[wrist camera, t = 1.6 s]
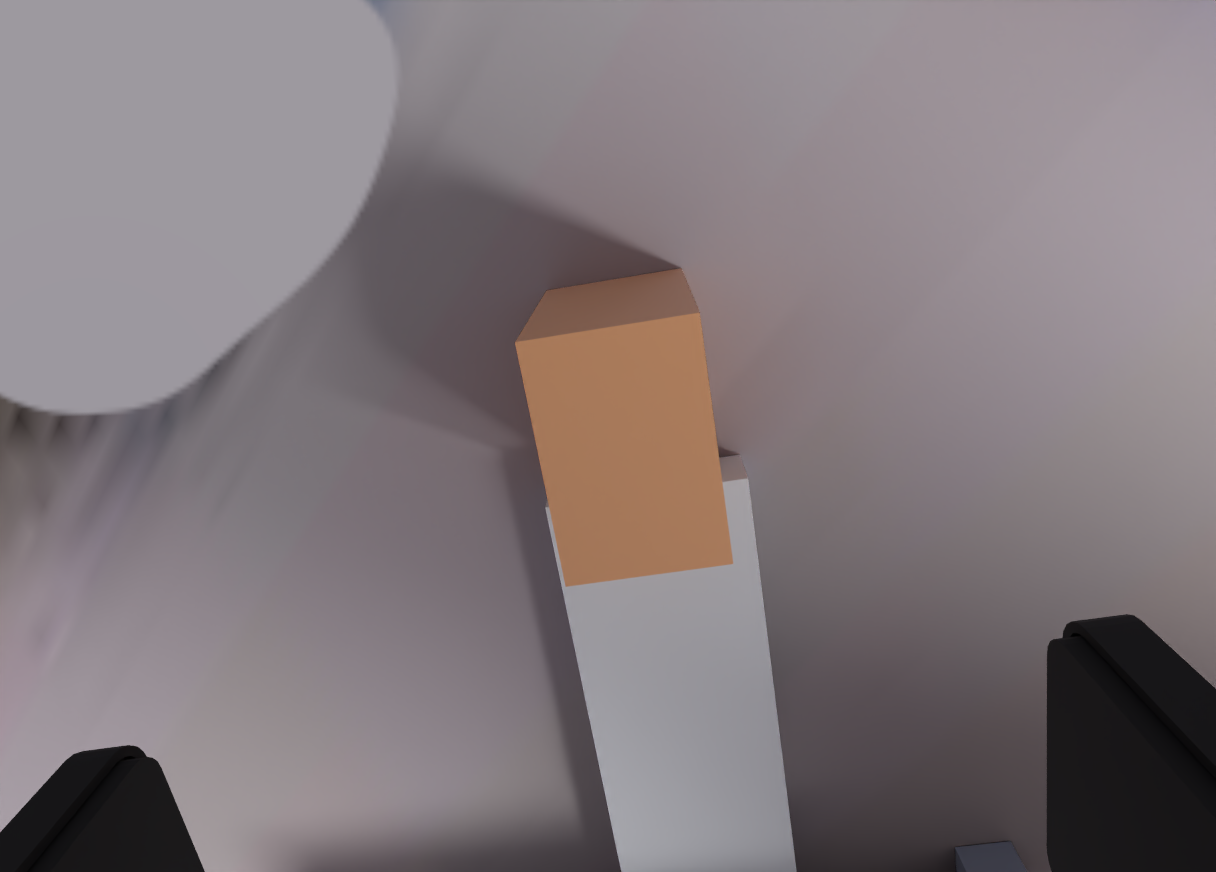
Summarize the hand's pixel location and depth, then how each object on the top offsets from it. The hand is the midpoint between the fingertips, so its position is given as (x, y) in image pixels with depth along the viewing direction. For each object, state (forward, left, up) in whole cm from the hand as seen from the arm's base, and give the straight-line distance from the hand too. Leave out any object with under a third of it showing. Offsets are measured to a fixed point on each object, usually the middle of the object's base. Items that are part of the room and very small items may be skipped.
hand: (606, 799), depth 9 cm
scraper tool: (0, +9, -18) cm, 20 cm away
